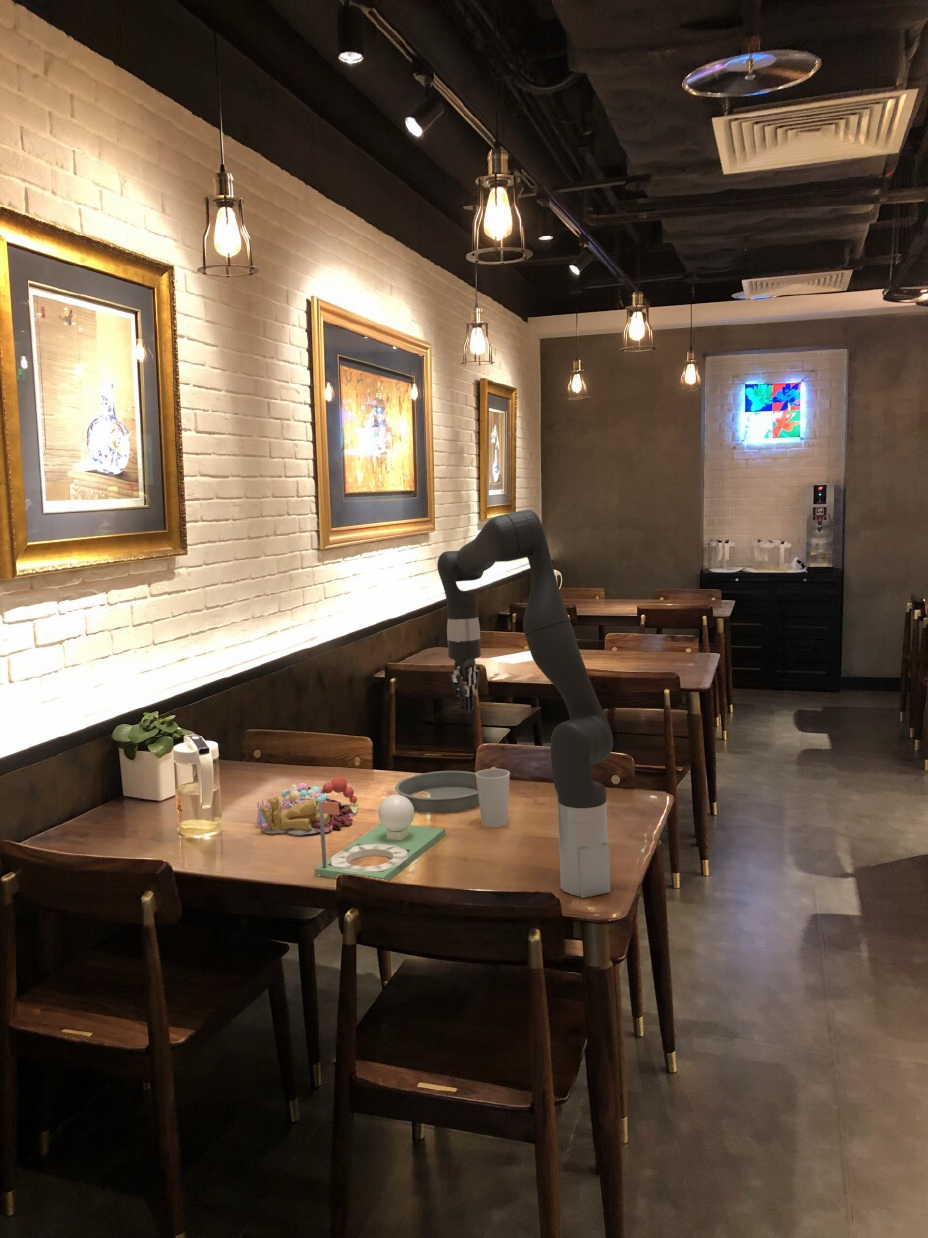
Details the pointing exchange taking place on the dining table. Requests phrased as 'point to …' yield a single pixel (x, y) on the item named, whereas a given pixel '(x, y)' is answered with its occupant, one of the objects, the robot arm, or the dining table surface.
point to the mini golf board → (376, 848)
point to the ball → (396, 813)
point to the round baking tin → (441, 791)
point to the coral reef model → (306, 809)
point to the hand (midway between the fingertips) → (466, 711)
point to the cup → (493, 796)
